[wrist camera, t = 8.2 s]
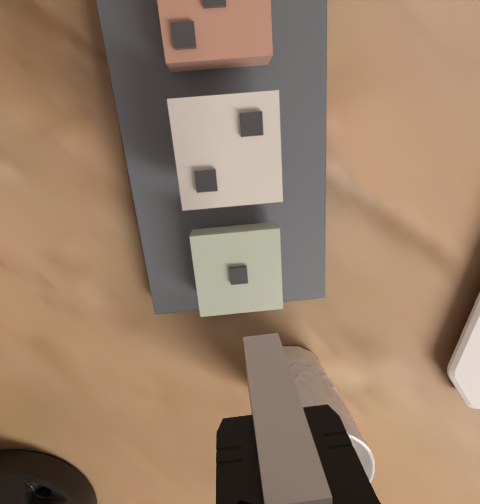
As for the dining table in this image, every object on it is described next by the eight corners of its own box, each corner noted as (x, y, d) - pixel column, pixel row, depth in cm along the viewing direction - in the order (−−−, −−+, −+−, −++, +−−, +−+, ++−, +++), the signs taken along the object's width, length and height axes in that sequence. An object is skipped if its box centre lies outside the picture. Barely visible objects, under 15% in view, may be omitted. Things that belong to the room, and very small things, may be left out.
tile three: (171, 72, 19) (164, 61, 17) (155, -50, 17) (145, -80, 15) (267, 64, 19) (273, 53, 17) (262, -57, 17) (268, -87, 15)
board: (159, 303, 27) (155, 314, 25) (98, -37, 19) (85, -58, 18) (317, 287, 27) (324, 297, 26) (317, -52, 20) (327, -73, 18)
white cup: (240, 348, 29) (249, 444, 20) (322, 331, 29) (372, 420, 19) (255, 412, 31) (269, 525, 22) (330, 397, 31) (378, 504, 22)
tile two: (186, 205, 20) (181, 211, 18) (172, 104, 18) (165, 98, 16) (277, 197, 20) (283, 202, 18) (273, 96, 18) (279, 88, 16)
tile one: (202, 303, 24) (200, 319, 22) (192, 229, 22) (188, 237, 20) (278, 296, 24) (283, 310, 22) (274, 221, 22) (280, 229, 20)
